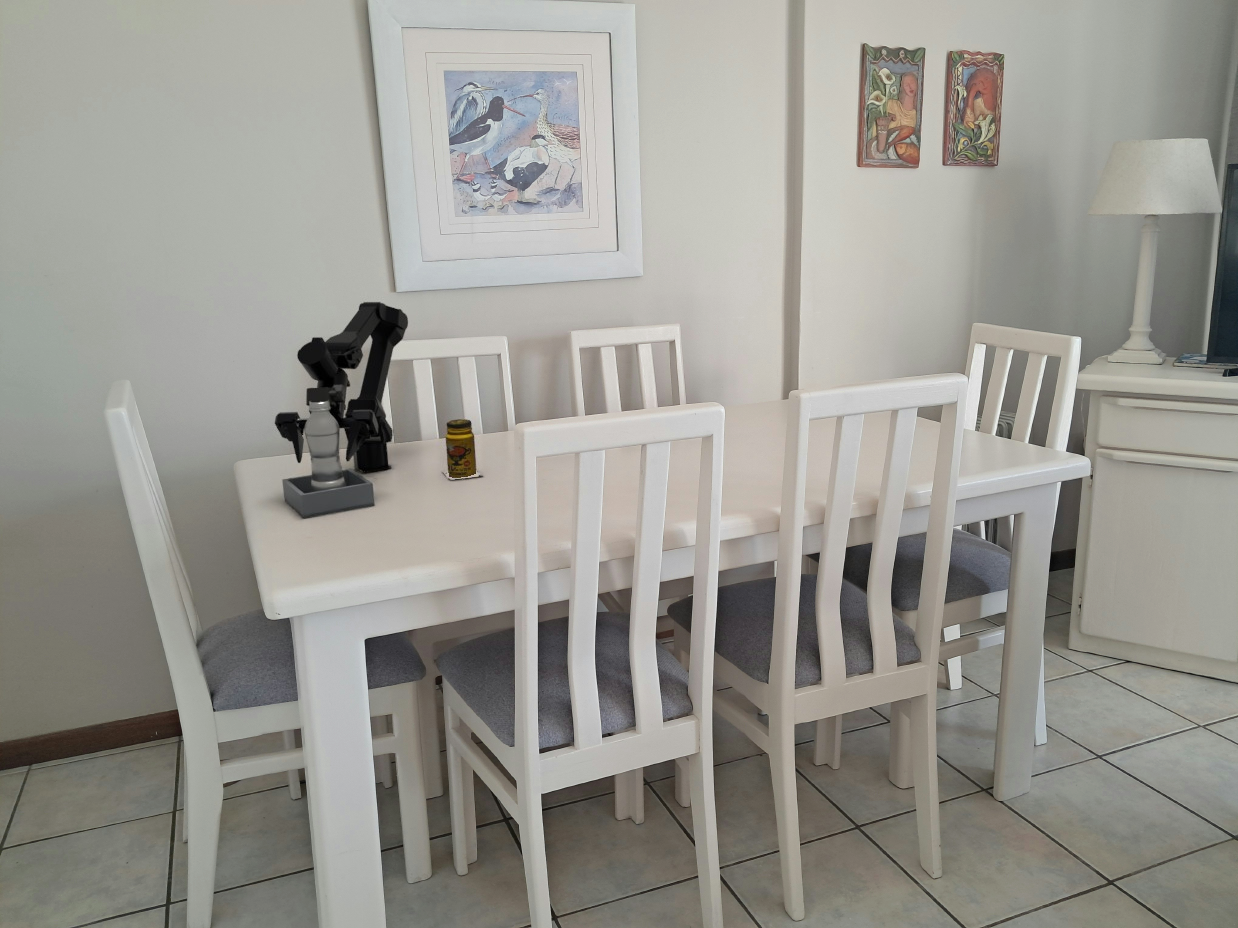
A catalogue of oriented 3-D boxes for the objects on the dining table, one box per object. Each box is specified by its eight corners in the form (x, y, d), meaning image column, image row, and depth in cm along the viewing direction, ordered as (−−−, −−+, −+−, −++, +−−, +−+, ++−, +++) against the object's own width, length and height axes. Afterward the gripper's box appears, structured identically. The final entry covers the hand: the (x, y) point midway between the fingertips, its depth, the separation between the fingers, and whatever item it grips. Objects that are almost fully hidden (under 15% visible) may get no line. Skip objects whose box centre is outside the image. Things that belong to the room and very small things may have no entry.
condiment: (450, 481, 196) (446, 426, 192) (441, 472, 203) (437, 418, 200) (483, 477, 198) (480, 422, 195) (473, 468, 206) (470, 415, 203)
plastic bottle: (330, 508, 176) (319, 405, 171) (304, 504, 179) (293, 402, 174) (354, 499, 182) (344, 399, 176) (329, 495, 185) (318, 396, 180)
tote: (352, 489, 191) (350, 468, 190) (374, 505, 180) (372, 483, 178) (284, 501, 183) (282, 479, 182) (303, 518, 172) (301, 495, 171)
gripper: (271, 371, 178) (260, 440, 170) (370, 368, 179) (363, 437, 171) (288, 404, 188) (278, 470, 180) (381, 401, 189) (375, 467, 181)
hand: (322, 461), depth 178 cm, fingers open, 9 cm apart
